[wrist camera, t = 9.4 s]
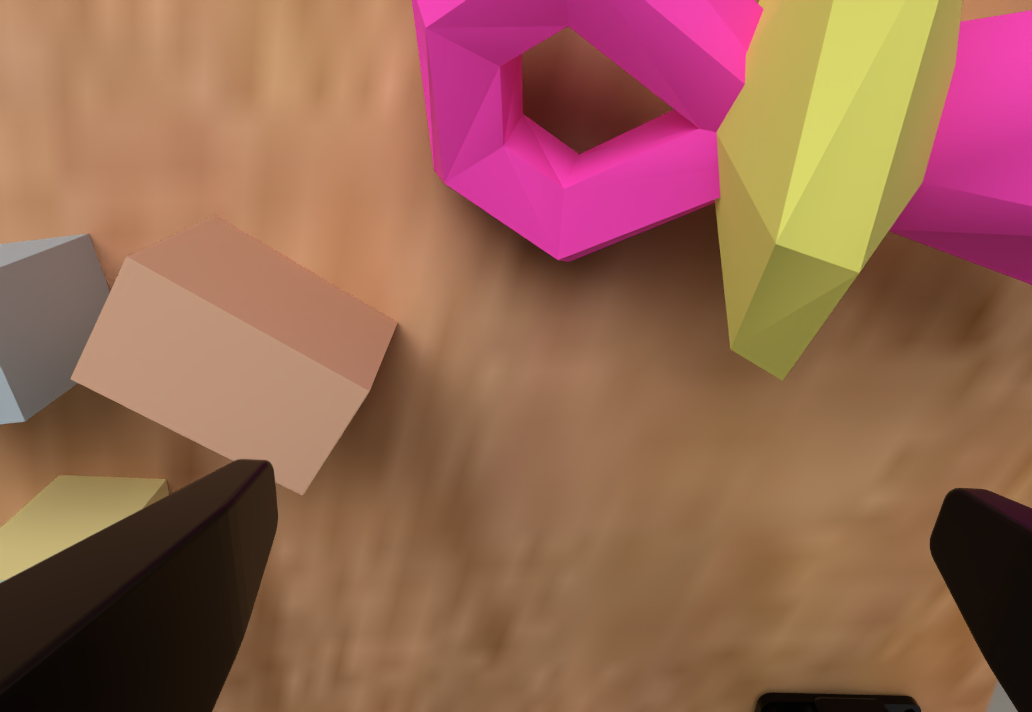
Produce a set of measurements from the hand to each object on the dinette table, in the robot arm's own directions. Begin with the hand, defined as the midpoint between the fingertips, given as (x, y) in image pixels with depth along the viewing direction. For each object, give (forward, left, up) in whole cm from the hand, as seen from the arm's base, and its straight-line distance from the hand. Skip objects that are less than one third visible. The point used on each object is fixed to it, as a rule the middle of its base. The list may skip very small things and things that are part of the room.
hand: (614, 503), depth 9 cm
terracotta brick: (-2, +8, -12) cm, 15 cm away
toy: (+5, -5, -12) cm, 14 cm away
